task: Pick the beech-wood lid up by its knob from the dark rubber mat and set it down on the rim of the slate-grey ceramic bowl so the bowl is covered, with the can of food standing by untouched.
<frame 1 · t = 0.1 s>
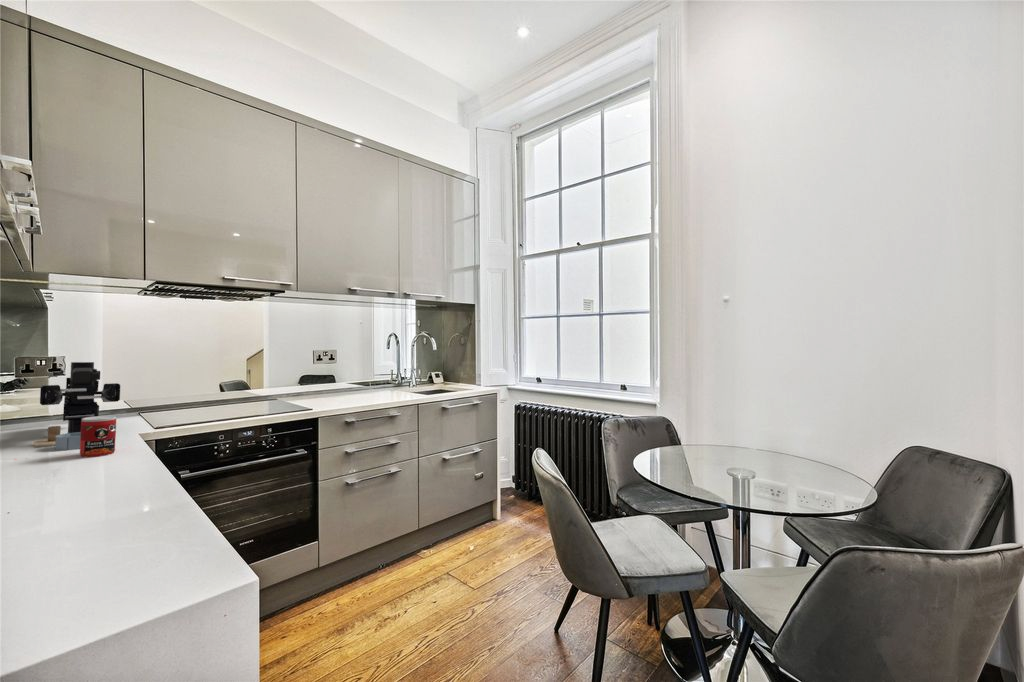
hand: (82, 395, 137), 17 cm above the counter, tool horizontal, fingers open, 9 cm apart
bowl: (75, 448, 135), on the counter
lid: (53, 443, 140), point 1 cm above the counter, touching mat
mat: (53, 445, 139), on the counter
canned food: (97, 455, 129), on the counter
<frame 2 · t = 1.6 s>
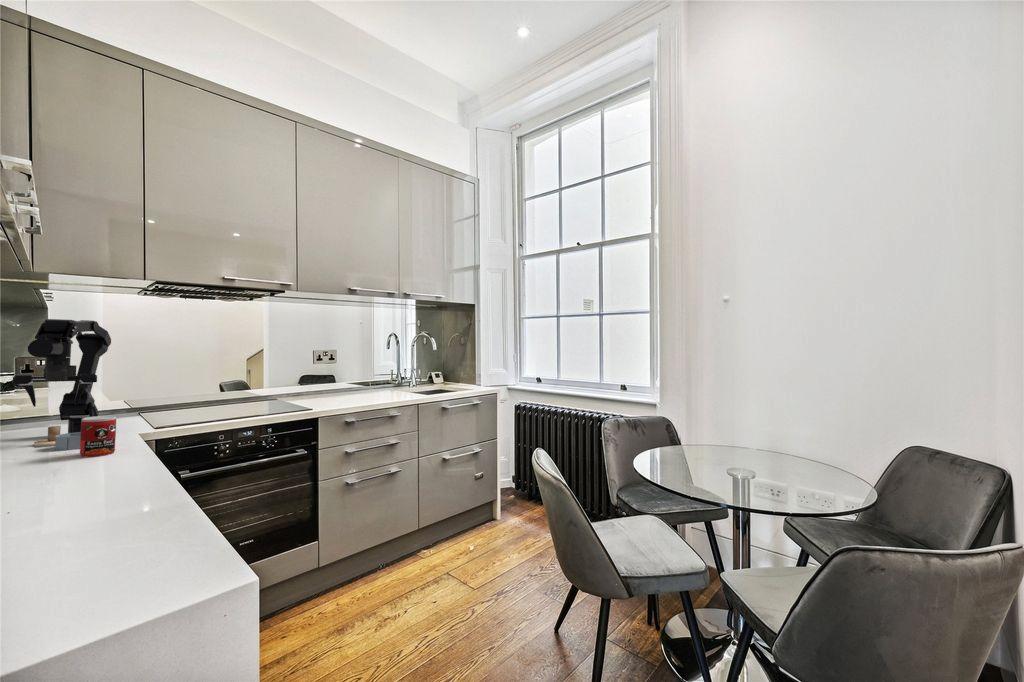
hand: (55, 405, 140), 13 cm above the counter, tool pointing down, fingers open, 9 cm apart
nothing on the counter moved.
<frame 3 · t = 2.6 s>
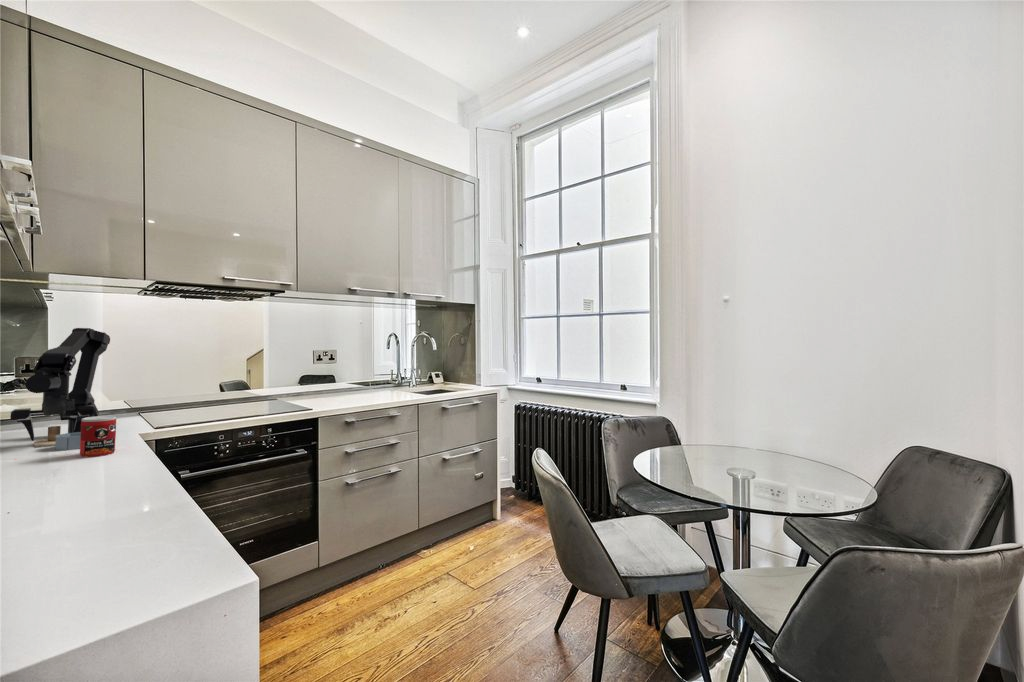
hand: (53, 438, 140), 2 cm above the counter, tool pointing down, fingers open, 9 cm apart
nothing on the counter moved.
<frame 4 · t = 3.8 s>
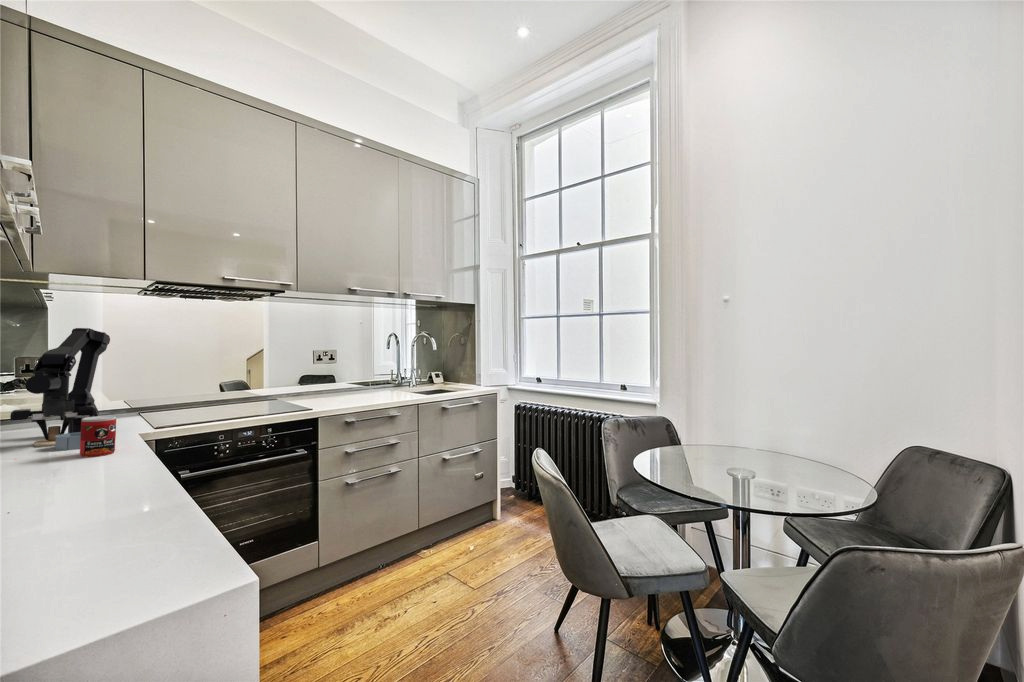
hand: (53, 439, 140), 2 cm above the counter, tool pointing down, fingers closed on lid, 3 cm apart
lid: (53, 443, 140), point 1 cm above the counter, touching gripper, mat
everything else where it was.
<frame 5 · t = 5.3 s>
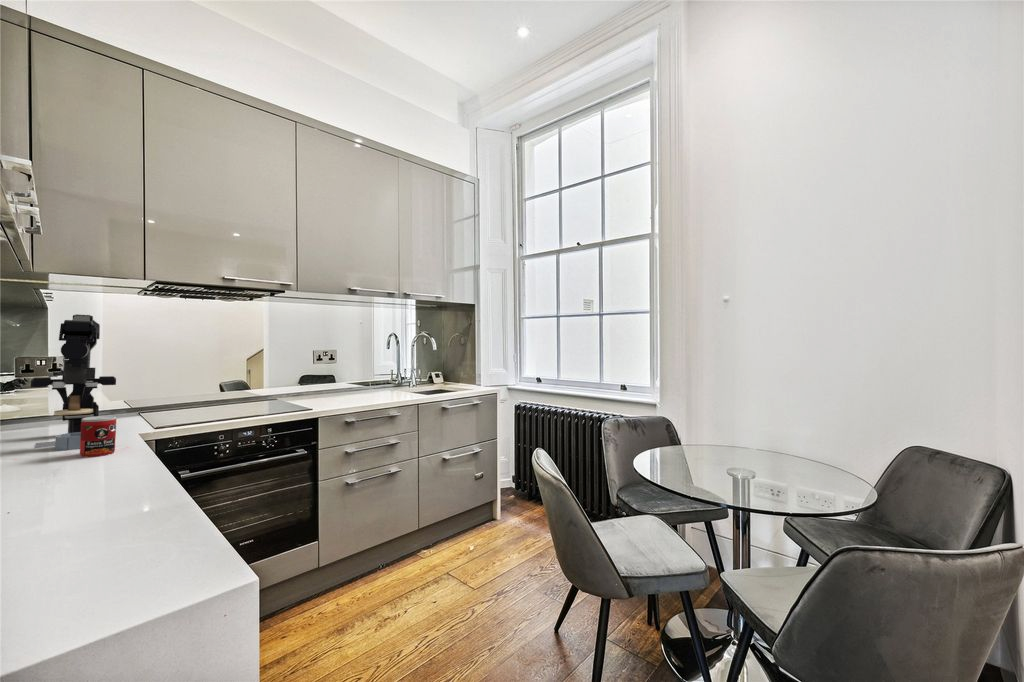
hand: (74, 409, 136), 12 cm above the counter, tool pointing down, fingers closed on lid, 3 cm apart
lid: (74, 413, 136), point 11 cm above the counter, touching gripper
everything else where it was.
when the fingers open (7 cm above the counter, at t = 6.9 s): lid drops 1 cm, resting on bowl.
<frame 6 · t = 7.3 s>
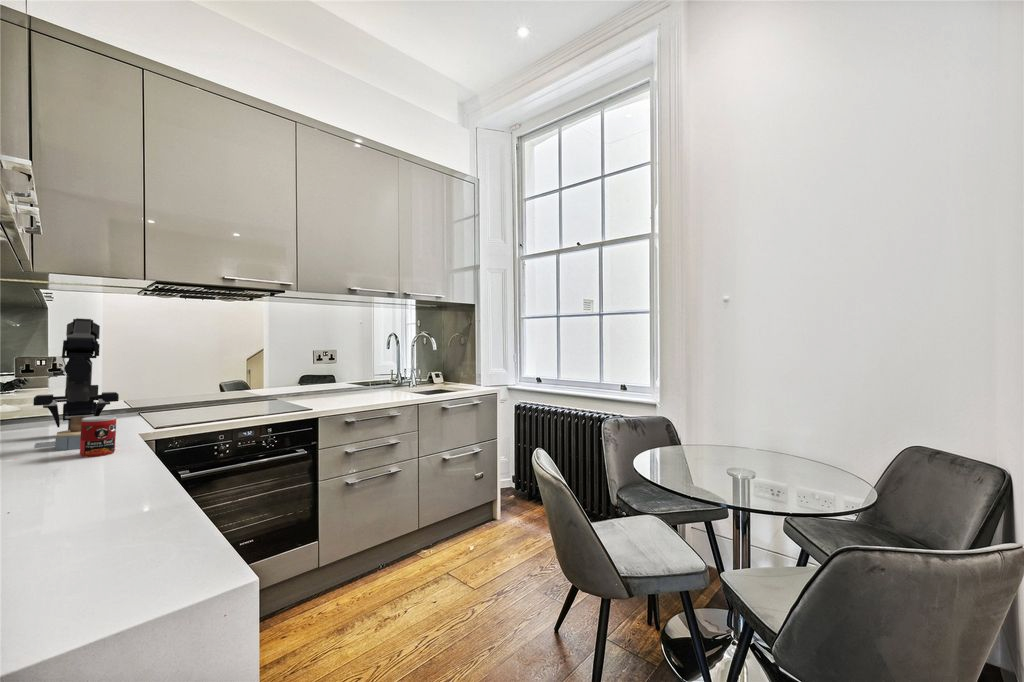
hand: (76, 425, 136), 7 cm above the counter, tool pointing down, fingers open, 8 cm apart
lid: (76, 434, 136), point 4 cm above the counter, touching bowl
everything else where it was.
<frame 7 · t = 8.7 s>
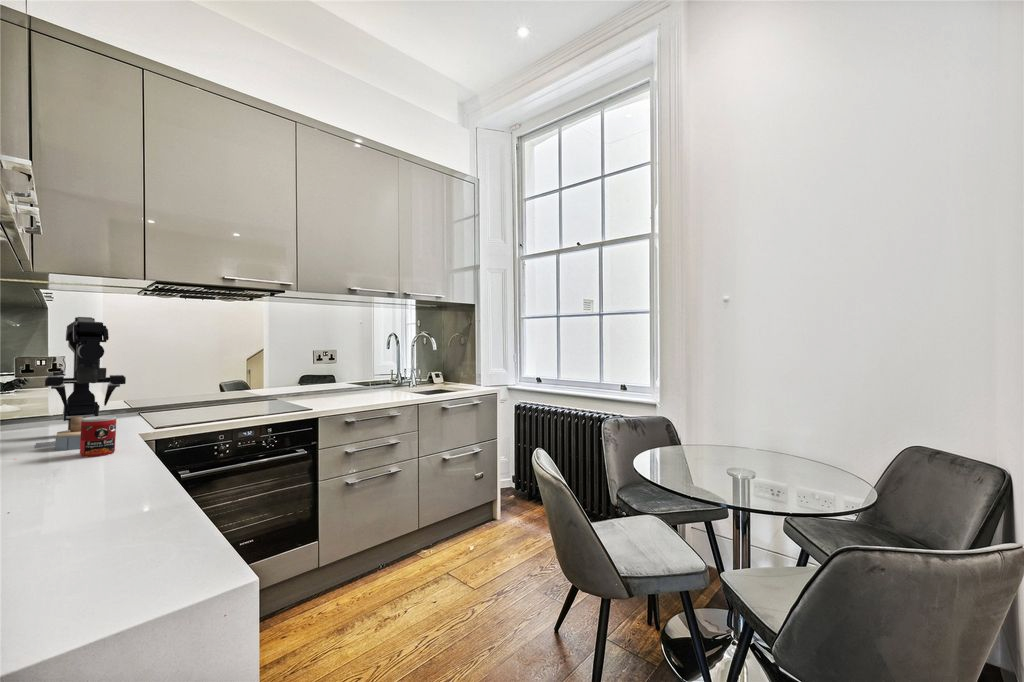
hand: (85, 406, 142), 12 cm above the counter, tool pointing down, fingers open, 9 cm apart
nothing on the counter moved.
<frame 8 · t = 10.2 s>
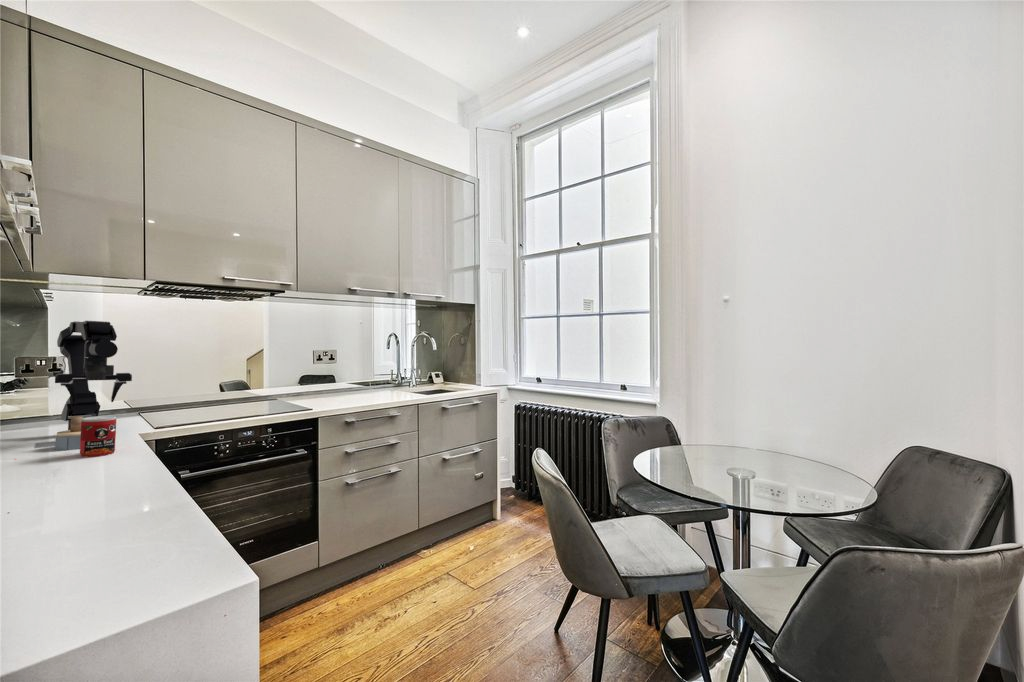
hand: (93, 403, 147), 13 cm above the counter, tool pointing down, fingers open, 9 cm apart
nothing on the counter moved.
at the end: lid 0.0 cm off-centre on the bowl, point 4.5 cm above the bowl's base; lid tilted 0°; lid touching bowl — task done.
